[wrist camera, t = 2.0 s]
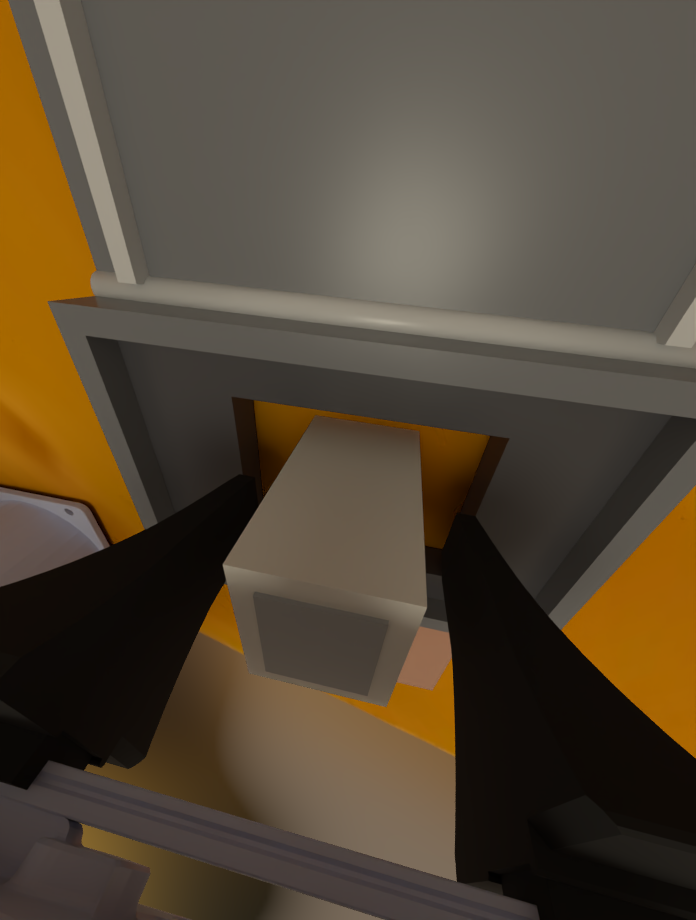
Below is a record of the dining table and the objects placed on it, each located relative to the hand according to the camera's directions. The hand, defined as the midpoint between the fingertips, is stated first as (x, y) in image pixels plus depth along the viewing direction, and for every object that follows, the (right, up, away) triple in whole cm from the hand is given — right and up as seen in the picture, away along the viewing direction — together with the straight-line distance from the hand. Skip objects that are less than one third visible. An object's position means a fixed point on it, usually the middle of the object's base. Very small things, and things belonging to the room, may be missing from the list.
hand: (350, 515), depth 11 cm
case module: (0, +1, +2) cm, 2 cm away
